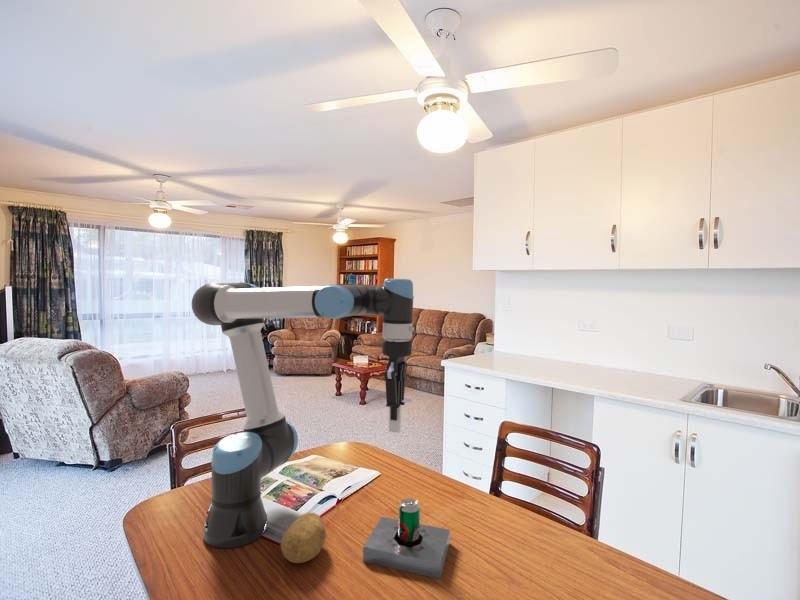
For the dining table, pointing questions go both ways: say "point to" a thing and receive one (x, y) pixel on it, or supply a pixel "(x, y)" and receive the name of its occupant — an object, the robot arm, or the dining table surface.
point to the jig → (407, 549)
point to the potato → (303, 538)
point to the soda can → (409, 523)
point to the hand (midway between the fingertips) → (394, 431)
